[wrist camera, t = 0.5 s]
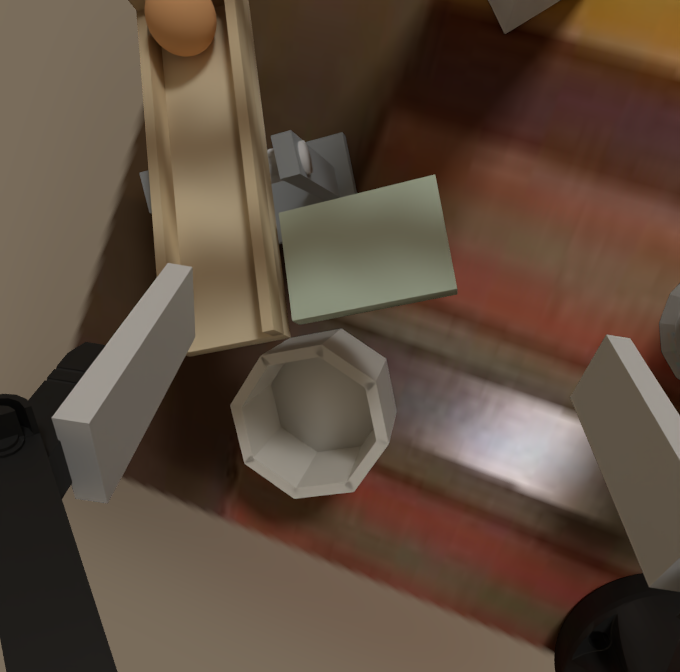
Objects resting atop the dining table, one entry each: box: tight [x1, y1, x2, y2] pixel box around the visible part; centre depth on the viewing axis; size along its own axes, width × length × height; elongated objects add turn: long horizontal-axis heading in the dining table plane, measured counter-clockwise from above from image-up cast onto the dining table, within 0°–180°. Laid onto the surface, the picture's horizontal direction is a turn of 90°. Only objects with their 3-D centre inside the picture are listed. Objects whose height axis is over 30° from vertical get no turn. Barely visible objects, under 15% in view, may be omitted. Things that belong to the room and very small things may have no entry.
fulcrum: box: [140, 130, 357, 244], centre depth 30 cm, size 6×10×12 cm, turn 102°
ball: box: [145, 0, 217, 57], centre depth 23 cm, size 3×3×3 cm
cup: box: [230, 329, 397, 499], centre depth 34 cm, size 9×9×6 cm
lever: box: [128, 0, 457, 357], centre depth 22 cm, size 18×12×3 cm
